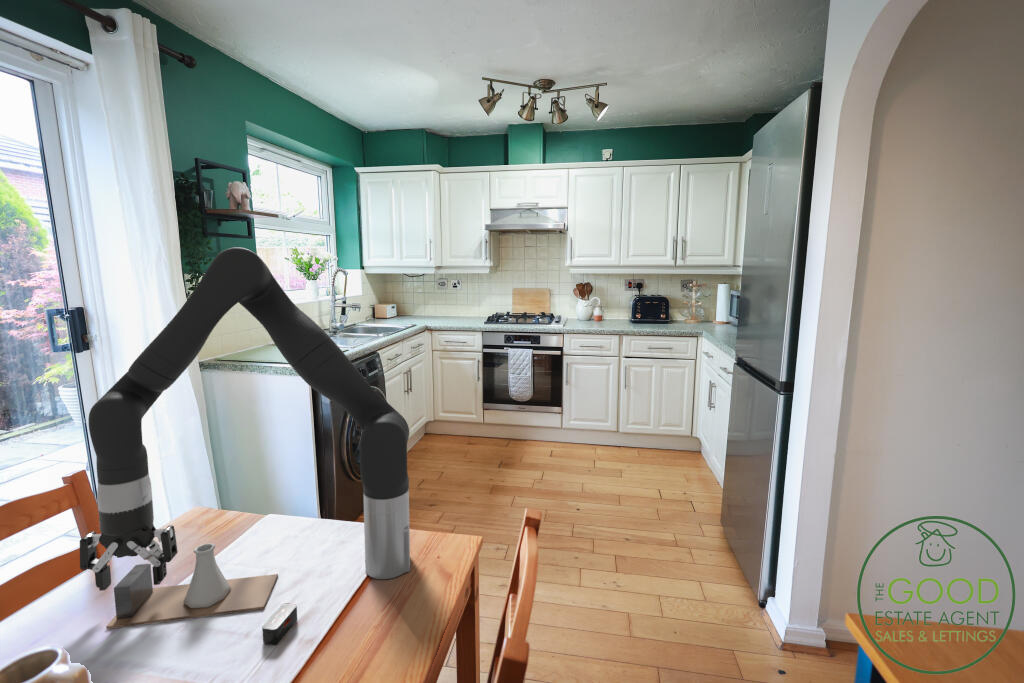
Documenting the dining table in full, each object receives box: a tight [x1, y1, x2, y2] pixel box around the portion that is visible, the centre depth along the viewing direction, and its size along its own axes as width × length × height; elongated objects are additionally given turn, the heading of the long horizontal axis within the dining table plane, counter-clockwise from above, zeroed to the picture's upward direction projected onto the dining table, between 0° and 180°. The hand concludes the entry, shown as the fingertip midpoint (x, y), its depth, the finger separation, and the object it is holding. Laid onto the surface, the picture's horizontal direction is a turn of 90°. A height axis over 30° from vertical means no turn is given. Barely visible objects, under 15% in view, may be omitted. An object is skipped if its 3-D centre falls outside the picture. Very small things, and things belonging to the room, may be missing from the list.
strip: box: [105, 563, 279, 630], centre depth 88 cm, size 25×10×6 cm, turn 103°
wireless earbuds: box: [261, 603, 298, 646], centre depth 81 cm, size 5×7×3 cm, turn 173°
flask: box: [183, 542, 231, 608], centre depth 88 cm, size 7×7×10 cm
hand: (132, 585), depth 86 cm, fingers open, 8 cm apart
